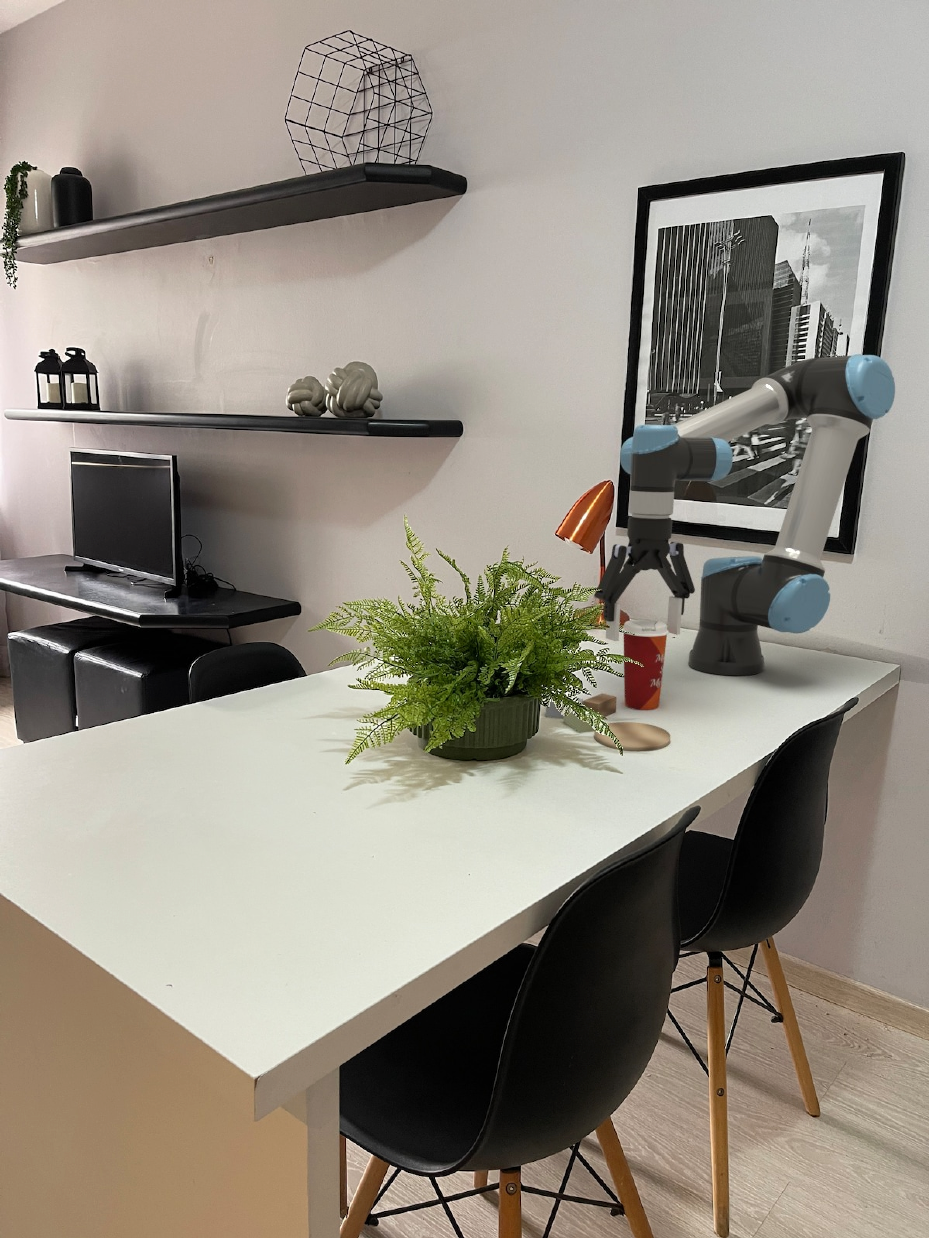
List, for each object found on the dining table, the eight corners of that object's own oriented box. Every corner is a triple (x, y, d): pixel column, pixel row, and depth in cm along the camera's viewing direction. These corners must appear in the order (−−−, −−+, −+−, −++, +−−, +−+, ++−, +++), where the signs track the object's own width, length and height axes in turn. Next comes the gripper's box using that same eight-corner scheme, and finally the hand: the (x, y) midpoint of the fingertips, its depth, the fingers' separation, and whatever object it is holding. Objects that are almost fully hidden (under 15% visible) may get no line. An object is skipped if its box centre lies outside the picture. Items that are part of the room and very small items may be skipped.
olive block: (563, 722, 160) (563, 705, 159) (579, 721, 161) (579, 704, 160) (579, 733, 154) (579, 716, 154) (595, 731, 155) (596, 714, 155)
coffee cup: (669, 712, 165) (673, 628, 162) (622, 711, 166) (625, 628, 163) (660, 698, 174) (664, 618, 171) (615, 698, 174) (618, 618, 171)
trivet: (638, 722, 160) (638, 718, 159) (686, 743, 149) (686, 738, 149) (579, 732, 154) (579, 728, 154) (624, 755, 144) (625, 750, 143)
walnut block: (601, 709, 167) (601, 693, 167) (615, 713, 166) (616, 696, 165) (582, 717, 163) (583, 700, 162) (597, 720, 161) (598, 704, 160)
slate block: (582, 715, 164) (582, 698, 163) (580, 720, 161) (581, 703, 161) (548, 713, 165) (548, 696, 165) (545, 718, 162) (546, 701, 162)
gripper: (691, 512, 172) (683, 626, 176) (578, 515, 160) (572, 637, 164) (720, 516, 165) (711, 634, 169) (604, 519, 154) (598, 646, 158)
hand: (643, 636), depth 167 cm, fingers open, 13 cm apart
